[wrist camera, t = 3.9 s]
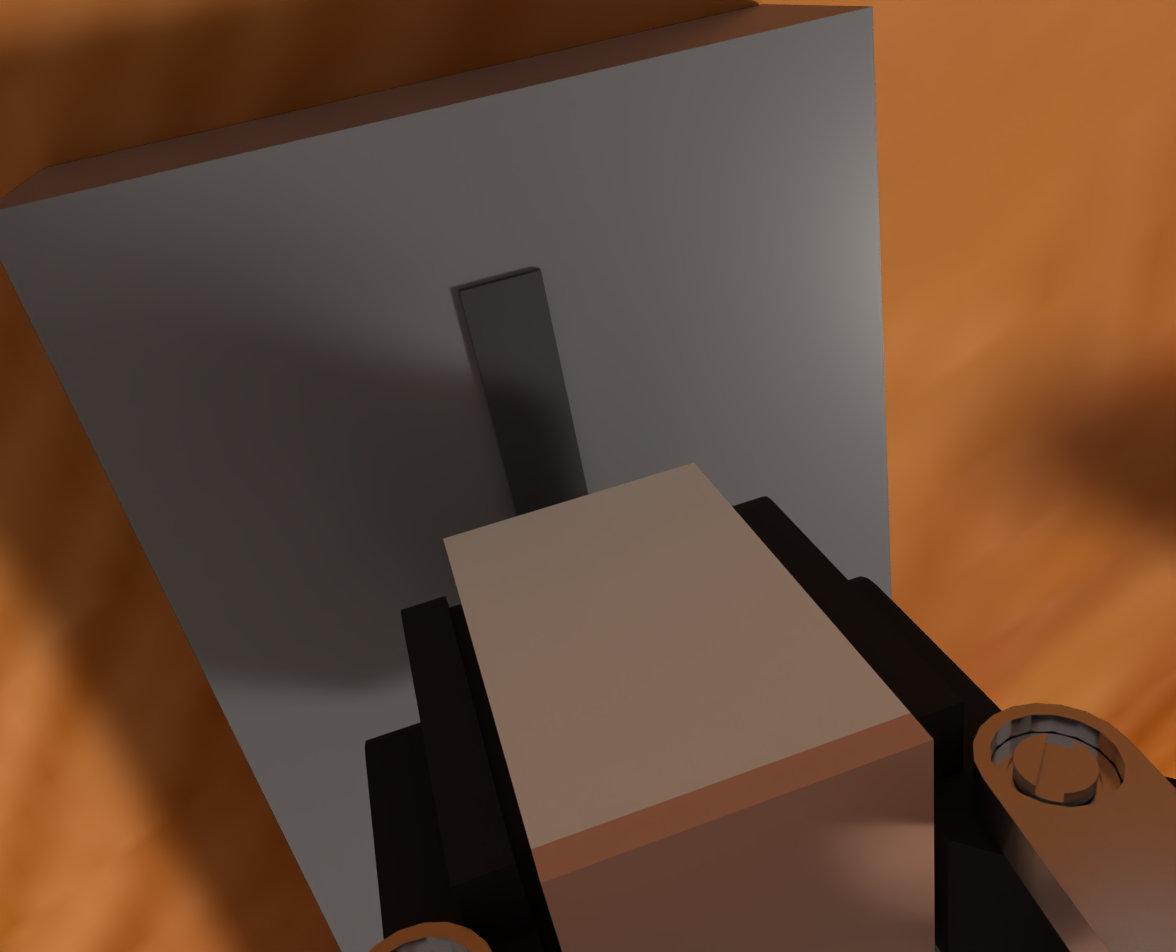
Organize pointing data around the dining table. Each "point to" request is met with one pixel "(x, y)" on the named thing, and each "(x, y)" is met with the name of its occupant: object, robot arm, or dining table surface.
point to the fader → (694, 733)
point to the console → (462, 351)
